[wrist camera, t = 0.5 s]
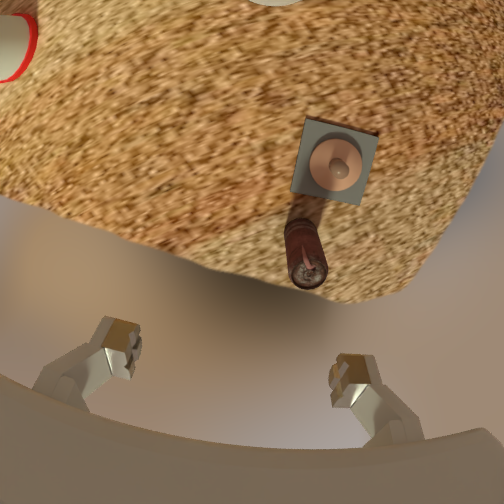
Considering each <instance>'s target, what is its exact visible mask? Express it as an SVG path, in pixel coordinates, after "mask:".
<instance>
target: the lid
mask: <svg viewBox="0 0 504 504" xmlns="http://www.w3.org/2000/svg"><path fill="white" fill-rule="evenodd" d="M309 168H310V172H311V175H312V177H313V178H314V180H315V181H316V183H317V184H318V185H320V186H321V187H323V188H324V189H327V190H330V191H341V190H344V189H347V188H349V187H350V186H352V185H353V184H354V183H355V182H356V181H357V179H358V178H359V176H360V174H361V170H362V159H361V156H360V154H359V152H358V150H357V149H356V148H355V147H354V146H353V145H352V144H350V143H349V142H347V141H345V140H343V139H338V138H332V139H327V140H325V141H323V142H321V143H320V144H318V145H317V146H316V147H315V148H314V150H313V151H312V153H311V156H310V160H309Z"/></svg>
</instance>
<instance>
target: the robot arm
mask: <svg viewBox="0 0 504 504" xmlns="http://www.w3.org/2000/svg"><path fill="white" fill-rule="evenodd" d="M249 1H252V2H254V3H257V4H261V5H266V6H284V5H289V4H293V3H296V2H298V1H300V0H249ZM140 331H141V330H140V325H139V324H136V323H132V322H128V321H124V320H120V319H117V318H112V317H108V316H104V317H103V318H102V320H101V322H100V324H99V325H98V327H97V329H96V331H95V333H94V335H93V336H92V338H91V340H90V342H89V343H84V344H82V345H81V346H79V347H77V348H76V349H74V350H72V351H70V352H69V353H67V354H65V355H64V356H62V357H60V358H58V359H57V360H55V361H53V362H51V363H50V364H48V365H46V366H44V367H43V369H42V371H41V373H40V375H39V377H38V378H37V380H36V382H35V384H34V386H33V388H32V389H30V388H28V387H26V386H23V385H21V384H19V383H17V382H15V381H13V380H11V379H9V378H7V377H6V376H3V375H2V374H0V504H504V448H503V446H502V444H501V442H500V441H499V440H498V439H497V438H495V437H494V436H493V435H492V434H491V433H490V432H489V431H488V430H486V429H485V428H476V429H472V430H468V431H464V432H460V433H456V434H452V435H447V436H442V437H438V438H432V439H427V440H425V438H424V435H423V431H422V428H421V424H420V420H419V417H418V416H417V415H416V414H415V413H414V412H413V411H412V410H411V409H410V408H409V407H408V406H407V405H406V404H405V403H404V402H403V401H402V400H401V399H400V398H399V397H397V395H395V394H394V393H393V392H392V391H391V390H390V389H389V388H388V387H387V386H386V385H383V384H382V380H381V377H380V374H379V371H378V367H377V364H376V361H375V357H374V356H373V355H361V354H344V353H340V354H339V355H338V357H337V358H336V361H337V363H336V364H334V365H332V367H331V369H330V372H329V379H328V381H329V386H330V388H331V389H332V390H333V391H332V393H331V402H332V407H333V408H334V407H335V408H350V409H351V411H352V412H353V414H354V415H355V416H356V418H357V419H358V420H359V421H360V423H361V424H362V426H363V427H364V428H365V430H366V431H367V432H368V434H369V435H370V436H371V438H372V439H371V440H370V441H368V442H367V443H366V444H365V445H364V446H363V448H348V449H316V450H315V449H314V450H313V449H312V450H311V449H277V448H262V447H250V446H239V445H231V444H222V443H215V442H208V441H202V440H196V439H190V438H185V437H179V436H175V435H170V434H165V433H160V432H156V431H152V430H148V429H144V428H139V427H135V426H132V425H128V424H125V423H121V422H118V421H114V420H111V419H108V418H104V417H101V416H99V415H95V414H92V413H90V411H89V409H88V407H87V405H86V403H85V401H84V399H85V398H86V397H87V396H89V395H90V394H91V393H92V392H94V391H95V390H96V389H97V388H99V387H100V386H101V385H102V384H103V383H105V382H106V381H107V380H108V379H110V378H111V377H112V376H116V377H120V378H124V379H128V380H131V378H132V376H133V373H134V370H135V363H134V362H135V361H136V360H138V359H139V356H140V353H141V348H142V339H141V337H140V336H139V333H140Z"/></svg>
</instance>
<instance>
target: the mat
mask: <svg viewBox="0 0 504 504" xmlns="http://www.w3.org/2000/svg"><path fill="white" fill-rule="evenodd" d="M332 138H338V139H343V140H345V141H347V142H349V143H350V144H352V145H353V146H354V147H355V148H356V149H357V150H358V152H359V154H360V156H361V159H362V170H361V174H360V176H359V178H358V179H357V181H356V182H355V183H354V184H353V185H352V186H350V187H349V188H347V189H344V190H341V191H330V190H327V189H324V188H323V187H321V186H320V185H318V184H317V183H316V181H315V180H314V178H313V177H312V175H311V172H310V168H309V160H310V156H311V153H312V151H313V150H314V148H315V147H316V146H317V145H318V144H320V143H321V142H323V141H325V140H327V139H332ZM378 140H379V137H376V136H372V135H369V134H366V133H362V132H358V131H355V130H351V129H347V128H344V127H340V126H336V125H332V124H328V123H323V122H319V121H315V120H310V119H306V118H305V123H304V128H303V133H302V137H301V142H300V147H299V151H298V156H297V161H296V165H295V170H294V175H293V179H292V184H291V188H290V192H295V193H300V194H305V195H310V196H316V197H321V198H326V199H330V200H335V201H340V202H345V203H349V204H354V205H359V206H360V203H361V199H362V196H363V193H364V189H365V186H366V183H367V179H368V176H369V172H370V169H371V165H372V162H373V158H374V155H375V151H376V147H377V143H378Z"/></svg>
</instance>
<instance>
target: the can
mask: <svg viewBox="0 0 504 504" xmlns="http://www.w3.org/2000/svg"><path fill="white" fill-rule="evenodd" d="M284 238H285V247H286V256H287V265H288V274H289V278H290V280H291V282H292V283H293V284H294V285H295V286H297V287H298V288H301V289H305V290H310V289H315V288H317V287H319V286H320V285H322V284H323V282H324V281H325V280H326V277H327V274H328V265H327V261H326V258H325V255H324V251H323V248H322V245H321V242H320V239H319V236H318V232H317V229H316V227H315V225H314V224H313V223H312V222H311V221H309V220H307V219H303V218H300V219H295V220H293V221H291V222H290V223H289V224H287V226H286V228H285V230H284Z"/></svg>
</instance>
